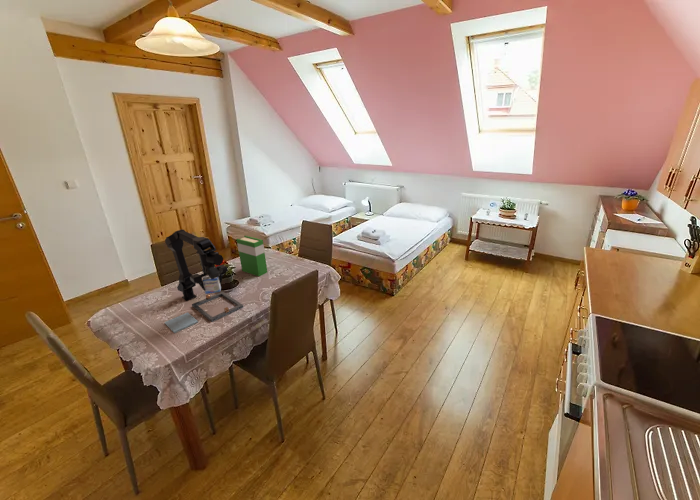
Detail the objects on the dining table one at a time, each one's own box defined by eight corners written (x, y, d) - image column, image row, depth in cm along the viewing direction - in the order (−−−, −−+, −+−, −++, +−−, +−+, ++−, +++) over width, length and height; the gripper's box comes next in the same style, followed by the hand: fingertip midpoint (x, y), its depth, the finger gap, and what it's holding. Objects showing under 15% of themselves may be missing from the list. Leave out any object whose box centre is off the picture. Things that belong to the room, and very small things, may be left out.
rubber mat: (164, 323, 167) (164, 322, 167) (188, 313, 175) (187, 312, 175) (174, 333, 159) (174, 331, 159) (198, 322, 167) (197, 321, 167)
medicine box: (205, 294, 173) (201, 280, 170) (206, 290, 177) (203, 276, 174) (220, 292, 175) (217, 278, 172) (221, 288, 179) (218, 274, 176)
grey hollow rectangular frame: (192, 306, 182) (190, 301, 181) (222, 293, 194) (221, 288, 193) (211, 322, 167) (210, 316, 165) (243, 307, 179) (242, 301, 178)
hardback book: (242, 270, 224) (236, 239, 215) (250, 266, 229) (245, 235, 220) (259, 276, 215) (254, 243, 206) (267, 272, 220) (262, 239, 211)
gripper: (195, 271, 158) (202, 298, 164) (230, 259, 171) (235, 285, 177) (186, 265, 165) (193, 292, 171) (220, 254, 178) (225, 279, 184)
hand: (212, 287), depth 175 cm, fingers closed on medicine box, 9 cm apart
